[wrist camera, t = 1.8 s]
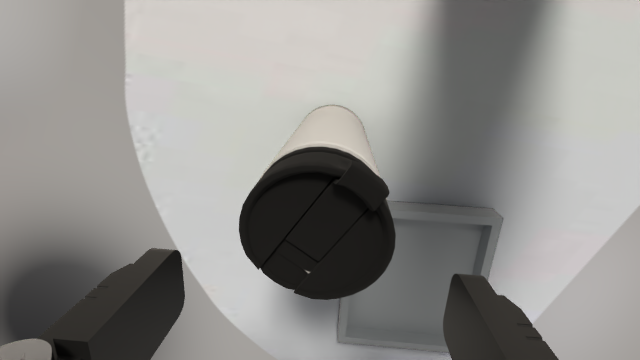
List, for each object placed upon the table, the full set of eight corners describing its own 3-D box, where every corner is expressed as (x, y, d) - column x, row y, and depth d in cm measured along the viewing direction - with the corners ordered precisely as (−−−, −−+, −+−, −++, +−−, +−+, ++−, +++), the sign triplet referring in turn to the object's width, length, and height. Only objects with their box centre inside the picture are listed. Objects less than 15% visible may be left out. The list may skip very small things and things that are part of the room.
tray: (349, 198, 33) (349, 206, 31) (493, 208, 32) (503, 218, 30) (337, 327, 38) (337, 342, 36) (461, 338, 38) (468, 354, 35)
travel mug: (381, 129, 31) (442, 228, 12) (337, 182, 33) (330, 341, 14) (327, 87, 30) (299, 120, 11) (285, 144, 32) (200, 258, 13)
